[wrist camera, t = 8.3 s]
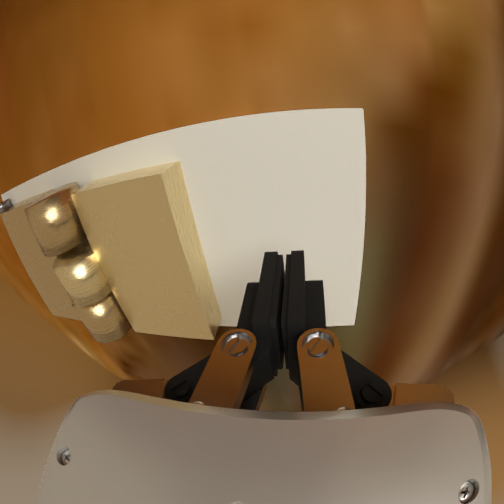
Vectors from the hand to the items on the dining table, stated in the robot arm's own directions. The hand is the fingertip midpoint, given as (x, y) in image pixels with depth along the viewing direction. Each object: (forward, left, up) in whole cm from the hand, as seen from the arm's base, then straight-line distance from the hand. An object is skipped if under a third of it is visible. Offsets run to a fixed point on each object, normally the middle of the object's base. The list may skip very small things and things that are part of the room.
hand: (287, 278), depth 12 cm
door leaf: (+1, -11, -5) cm, 12 cm away
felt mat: (+1, -12, -5) cm, 13 cm away
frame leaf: (+1, -20, -5) cm, 20 cm away
